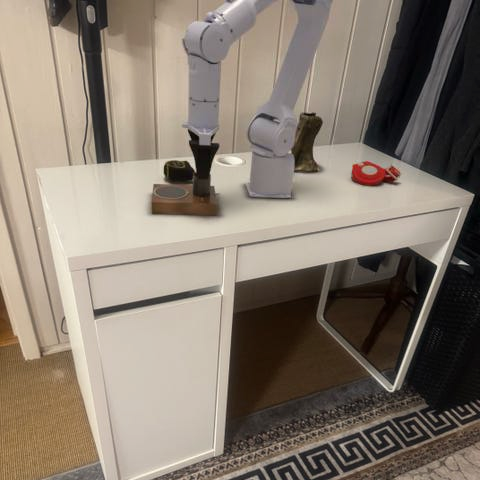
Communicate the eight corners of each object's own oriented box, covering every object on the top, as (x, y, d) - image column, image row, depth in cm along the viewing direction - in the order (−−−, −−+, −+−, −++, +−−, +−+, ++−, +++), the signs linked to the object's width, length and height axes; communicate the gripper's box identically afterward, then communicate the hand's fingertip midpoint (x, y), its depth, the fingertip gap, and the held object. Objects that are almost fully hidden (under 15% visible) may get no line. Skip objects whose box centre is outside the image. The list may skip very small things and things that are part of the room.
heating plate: (187, 187, 98) (187, 185, 98) (188, 199, 93) (188, 198, 93) (154, 186, 98) (154, 184, 97) (152, 198, 92) (152, 197, 92)
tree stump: (295, 158, 129) (302, 106, 121) (325, 167, 125) (335, 114, 117) (275, 166, 123) (282, 112, 115) (307, 176, 118) (316, 120, 110)
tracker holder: (364, 183, 113) (343, 161, 119) (361, 198, 117) (341, 175, 122) (407, 170, 115) (385, 148, 121) (402, 184, 119) (381, 163, 125)
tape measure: (196, 184, 107) (196, 168, 105) (166, 185, 105) (166, 168, 103) (189, 174, 113) (189, 158, 110) (161, 175, 111) (161, 159, 108)
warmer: (217, 196, 102) (218, 185, 100) (221, 215, 94) (222, 202, 92) (153, 195, 100) (153, 182, 99) (152, 213, 92) (151, 200, 91)
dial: (209, 190, 98) (210, 170, 95) (210, 197, 95) (211, 176, 92) (192, 190, 97) (192, 169, 95) (193, 196, 94) (193, 175, 92)
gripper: (181, 90, 91) (181, 160, 99) (182, 106, 79) (182, 184, 87) (217, 92, 92) (214, 161, 100) (223, 108, 80) (219, 185, 88)
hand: (201, 172), depth 93 cm, fingers open, 7 cm apart
